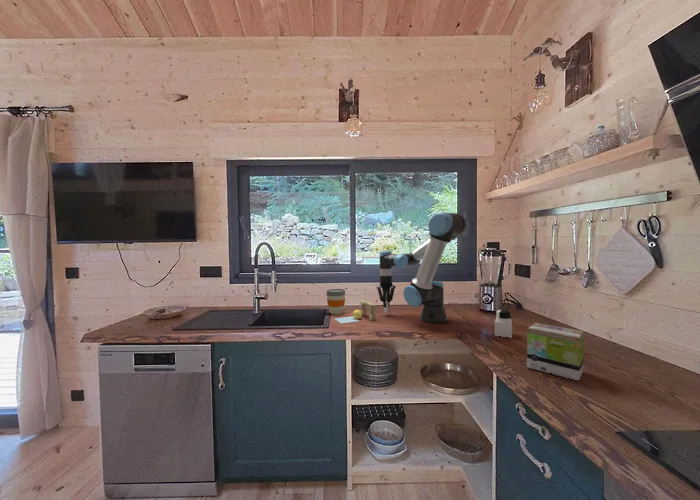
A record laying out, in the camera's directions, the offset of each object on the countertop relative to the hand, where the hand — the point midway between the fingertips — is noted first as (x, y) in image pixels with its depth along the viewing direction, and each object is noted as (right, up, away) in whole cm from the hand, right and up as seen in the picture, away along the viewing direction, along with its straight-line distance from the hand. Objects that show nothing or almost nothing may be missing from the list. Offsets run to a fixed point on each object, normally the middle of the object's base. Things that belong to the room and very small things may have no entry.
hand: (386, 312), depth 181 cm
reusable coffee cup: (-32, -3, +9) cm, 34 cm away
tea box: (+49, -3, -81) cm, 95 cm away
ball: (-19, 0, -7) cm, 20 cm away
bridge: (-12, -2, -5) cm, 13 cm away
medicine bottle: (+51, -2, -42) cm, 67 cm away
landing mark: (-25, -3, -10) cm, 27 cm away
